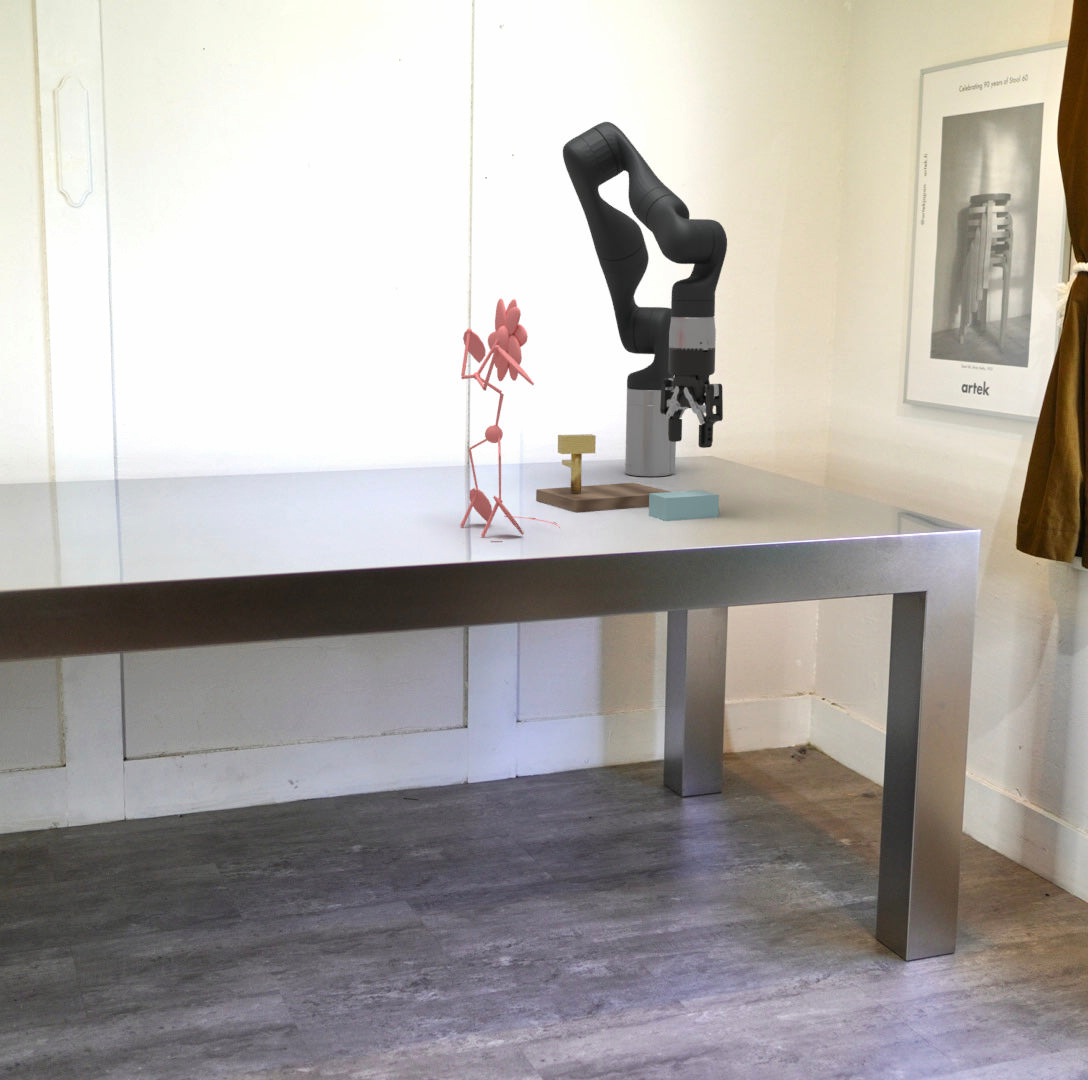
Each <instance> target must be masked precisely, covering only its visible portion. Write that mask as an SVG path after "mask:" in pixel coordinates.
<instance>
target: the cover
mask: <svg viewBox="0 0 1088 1080" xmlns="http://www.w3.org/2000/svg"><path fill="white" fill-rule="evenodd" d="M719 501H720V494H718V493H714V492H710V491H707V490H702V489H698V490H695V489H694V490H682V491H681V490H680V491H670V492H664V493H649V507H648V517H651V518H654V519H657V518H658V520H660V521H663V522H669V521H681V520H682V521H683V520H684V521H686V520H697V519H712V518H719V505H720V503H719Z"/></svg>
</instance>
